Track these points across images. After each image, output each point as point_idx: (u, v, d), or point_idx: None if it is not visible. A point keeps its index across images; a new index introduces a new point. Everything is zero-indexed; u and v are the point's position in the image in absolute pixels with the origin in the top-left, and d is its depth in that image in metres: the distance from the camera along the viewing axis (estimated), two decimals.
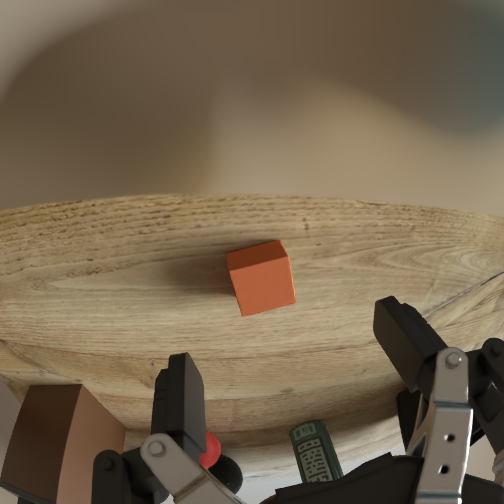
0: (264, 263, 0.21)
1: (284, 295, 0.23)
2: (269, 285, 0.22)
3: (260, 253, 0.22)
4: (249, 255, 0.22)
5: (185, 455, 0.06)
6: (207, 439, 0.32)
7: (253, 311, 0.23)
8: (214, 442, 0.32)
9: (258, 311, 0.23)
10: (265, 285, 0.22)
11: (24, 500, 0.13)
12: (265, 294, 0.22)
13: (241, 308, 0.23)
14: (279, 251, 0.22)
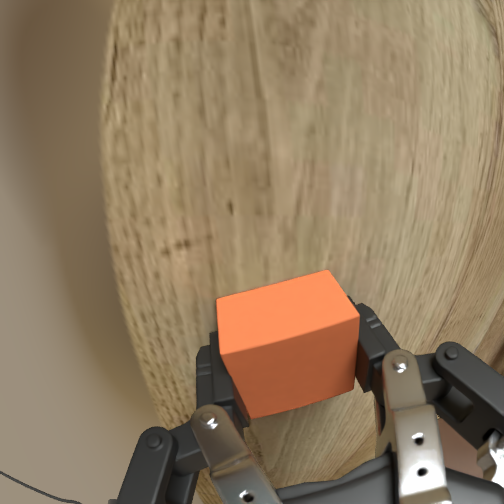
0: (238, 386, 0.09)
1: (329, 342, 0.09)
2: (294, 372, 0.09)
3: None
4: None
5: (235, 431, 0.07)
6: None
7: (348, 380, 0.10)
8: None
9: (352, 373, 0.10)
10: (292, 378, 0.09)
11: None
12: (314, 374, 0.09)
13: (334, 395, 0.10)
14: None
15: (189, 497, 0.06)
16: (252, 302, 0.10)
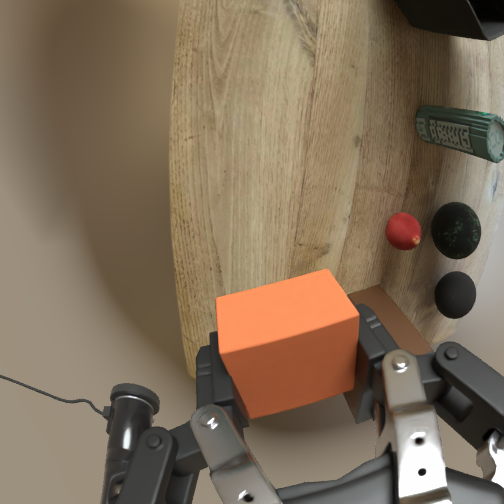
0: (238, 385, 0.09)
1: (328, 341, 0.09)
2: (294, 371, 0.09)
3: None
4: None
5: (235, 431, 0.07)
6: (391, 222, 0.39)
7: (348, 379, 0.10)
8: (396, 217, 0.38)
9: (352, 373, 0.10)
10: (291, 377, 0.09)
11: (371, 411, 0.35)
12: (314, 373, 0.09)
13: (334, 394, 0.10)
14: None
15: (189, 497, 0.06)
16: (251, 301, 0.10)
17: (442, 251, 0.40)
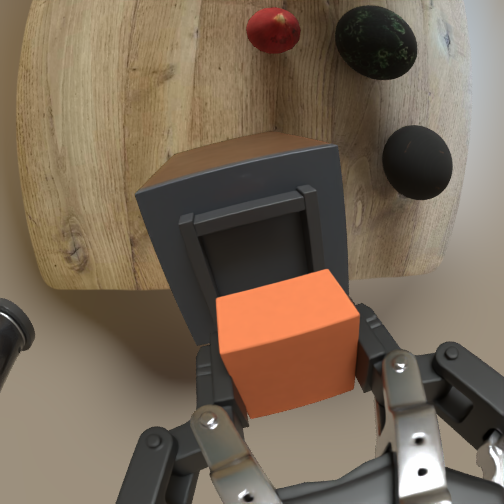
0: (238, 385, 0.09)
1: (329, 341, 0.09)
2: (294, 371, 0.09)
3: None
4: None
5: (235, 431, 0.07)
6: None
7: (348, 379, 0.10)
8: None
9: (352, 373, 0.10)
10: (291, 377, 0.09)
11: None
12: (314, 373, 0.09)
13: (334, 395, 0.10)
14: None
15: (189, 497, 0.06)
16: (251, 301, 0.10)
17: (354, 58, 0.23)
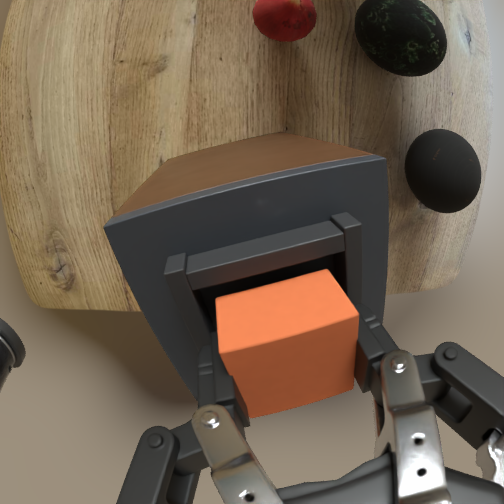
0: (237, 385, 0.09)
1: (328, 341, 0.09)
2: (293, 371, 0.09)
3: None
4: None
5: (236, 431, 0.07)
6: (256, 2, 0.18)
7: (348, 379, 0.10)
8: None
9: (351, 372, 0.10)
10: (291, 377, 0.09)
11: None
12: (313, 373, 0.09)
13: (334, 394, 0.10)
14: None
15: (190, 496, 0.06)
16: (251, 301, 0.10)
17: (379, 50, 0.19)
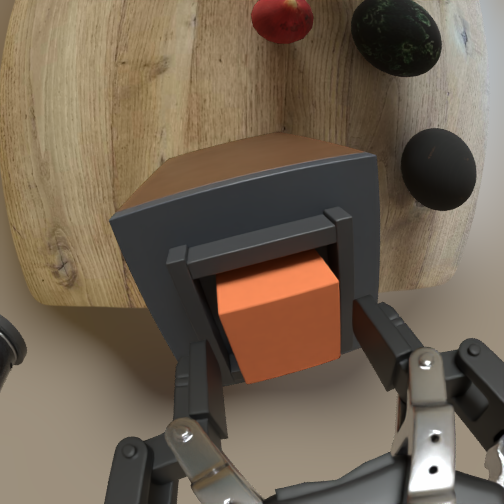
0: (235, 347, 0.11)
1: (313, 306, 0.10)
2: (284, 334, 0.11)
3: None
4: None
5: (210, 442, 0.07)
6: None
7: (334, 346, 0.12)
8: None
9: (337, 340, 0.12)
10: (282, 340, 0.11)
11: None
12: (302, 338, 0.11)
13: (322, 362, 0.12)
14: None
15: None
16: (246, 274, 0.12)
17: (374, 51, 0.19)
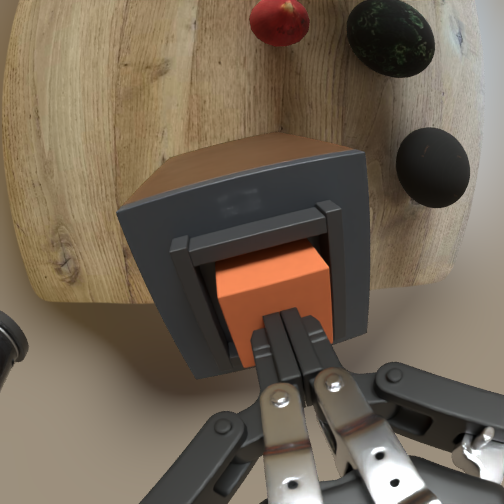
0: (232, 330, 0.12)
1: (305, 291, 0.11)
2: None
3: None
4: None
5: (302, 415, 0.07)
6: (252, 9, 0.19)
7: (327, 331, 0.13)
8: None
9: (329, 325, 0.12)
10: None
11: None
12: None
13: None
14: None
15: (236, 486, 0.07)
16: (244, 261, 0.13)
17: (369, 53, 0.20)
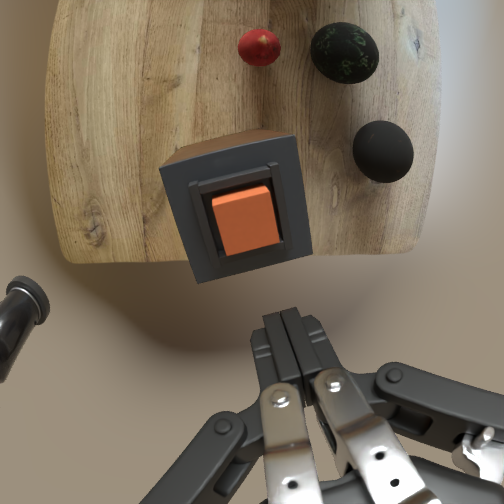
0: (220, 226, 0.22)
1: (258, 204, 0.22)
2: (244, 220, 0.22)
3: None
4: None
5: (302, 415, 0.07)
6: (240, 39, 0.30)
7: (274, 233, 0.23)
8: None
9: (275, 228, 0.23)
10: (244, 224, 0.23)
11: None
12: (254, 223, 0.23)
13: (269, 244, 0.24)
14: None
15: (236, 486, 0.07)
16: (227, 194, 0.23)
17: (324, 68, 0.31)
